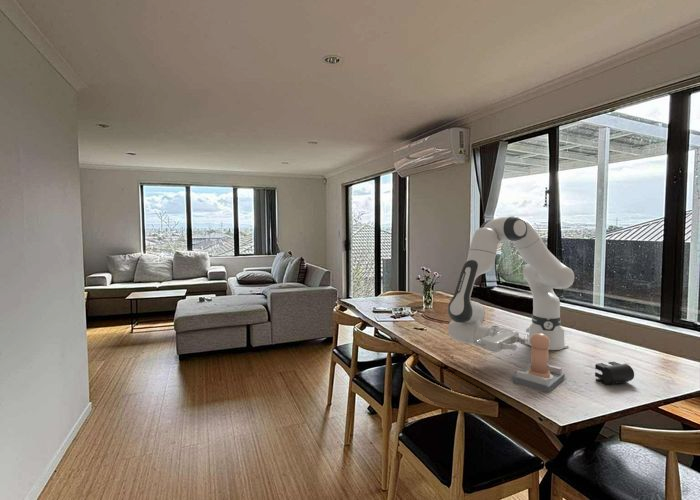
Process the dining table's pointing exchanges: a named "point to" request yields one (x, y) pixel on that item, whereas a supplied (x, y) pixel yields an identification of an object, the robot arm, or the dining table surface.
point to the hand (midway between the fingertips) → (521, 344)
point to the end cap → (614, 373)
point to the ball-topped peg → (539, 355)
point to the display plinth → (538, 386)
